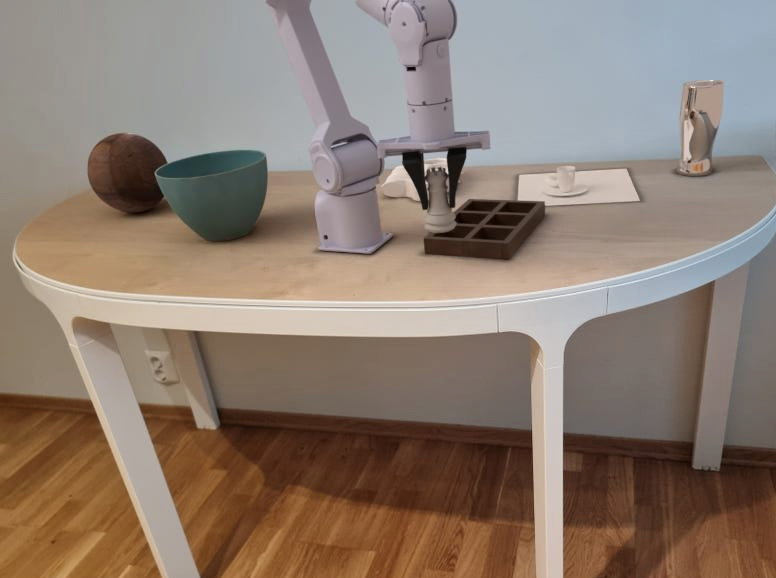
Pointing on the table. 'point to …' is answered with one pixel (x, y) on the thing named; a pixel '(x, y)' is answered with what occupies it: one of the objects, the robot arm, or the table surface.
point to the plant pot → (217, 191)
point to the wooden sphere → (126, 172)
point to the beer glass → (699, 125)
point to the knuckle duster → (402, 183)
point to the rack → (487, 229)
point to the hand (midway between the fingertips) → (438, 206)
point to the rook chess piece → (438, 203)
